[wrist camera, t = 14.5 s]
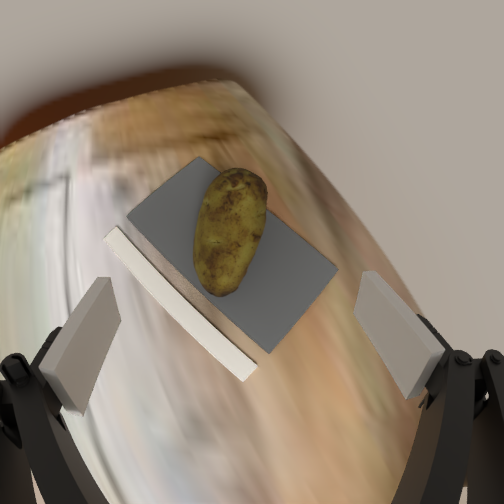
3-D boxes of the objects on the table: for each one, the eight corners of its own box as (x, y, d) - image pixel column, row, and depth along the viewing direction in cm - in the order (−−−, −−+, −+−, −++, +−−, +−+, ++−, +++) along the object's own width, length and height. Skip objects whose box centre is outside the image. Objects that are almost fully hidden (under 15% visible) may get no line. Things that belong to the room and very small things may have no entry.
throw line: (257, 365, 29) (257, 365, 28) (242, 381, 28) (242, 382, 28) (117, 227, 33) (116, 226, 33) (103, 239, 32) (103, 238, 32)
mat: (337, 270, 34) (338, 269, 33) (268, 353, 29) (269, 353, 29) (199, 158, 38) (199, 156, 37) (127, 217, 34) (126, 216, 33)
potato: (166, 270, 31) (149, 242, 24) (225, 189, 36) (226, 147, 28) (228, 309, 30) (228, 292, 23) (282, 219, 35) (297, 182, 27)
